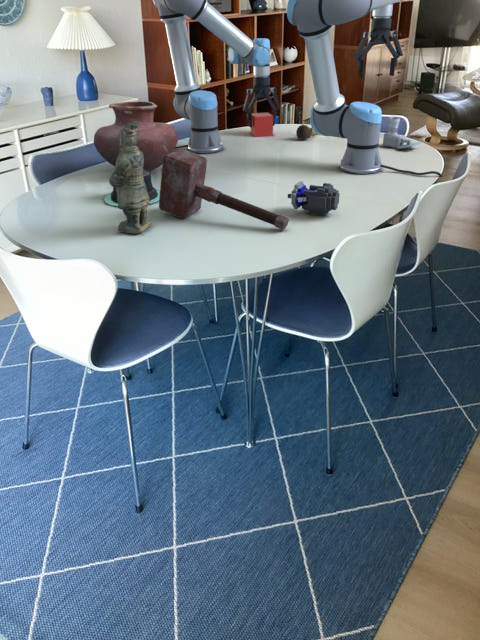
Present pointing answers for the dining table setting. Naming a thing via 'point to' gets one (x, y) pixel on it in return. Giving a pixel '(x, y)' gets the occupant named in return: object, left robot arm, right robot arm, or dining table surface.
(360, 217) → the dining table surface
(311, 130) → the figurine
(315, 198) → the toy
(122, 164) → the statue
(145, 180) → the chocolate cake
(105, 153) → the clay pot
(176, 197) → the sledgehammer
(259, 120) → the block
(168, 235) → the dining table surface
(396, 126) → the grey boot
